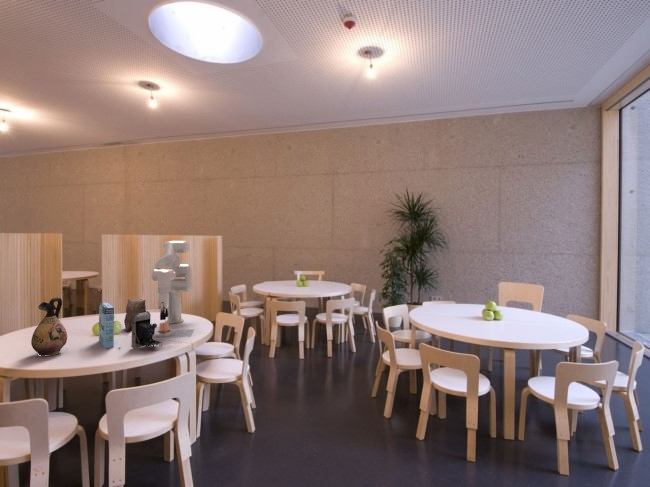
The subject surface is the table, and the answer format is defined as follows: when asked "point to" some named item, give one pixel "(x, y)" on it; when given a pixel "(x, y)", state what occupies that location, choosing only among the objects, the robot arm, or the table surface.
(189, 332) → the board
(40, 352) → the ceramic jug
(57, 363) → the table surface
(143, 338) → the vintage camera
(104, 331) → the gum box
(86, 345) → the table surface
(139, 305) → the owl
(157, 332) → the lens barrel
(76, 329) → the table surface
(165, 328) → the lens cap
